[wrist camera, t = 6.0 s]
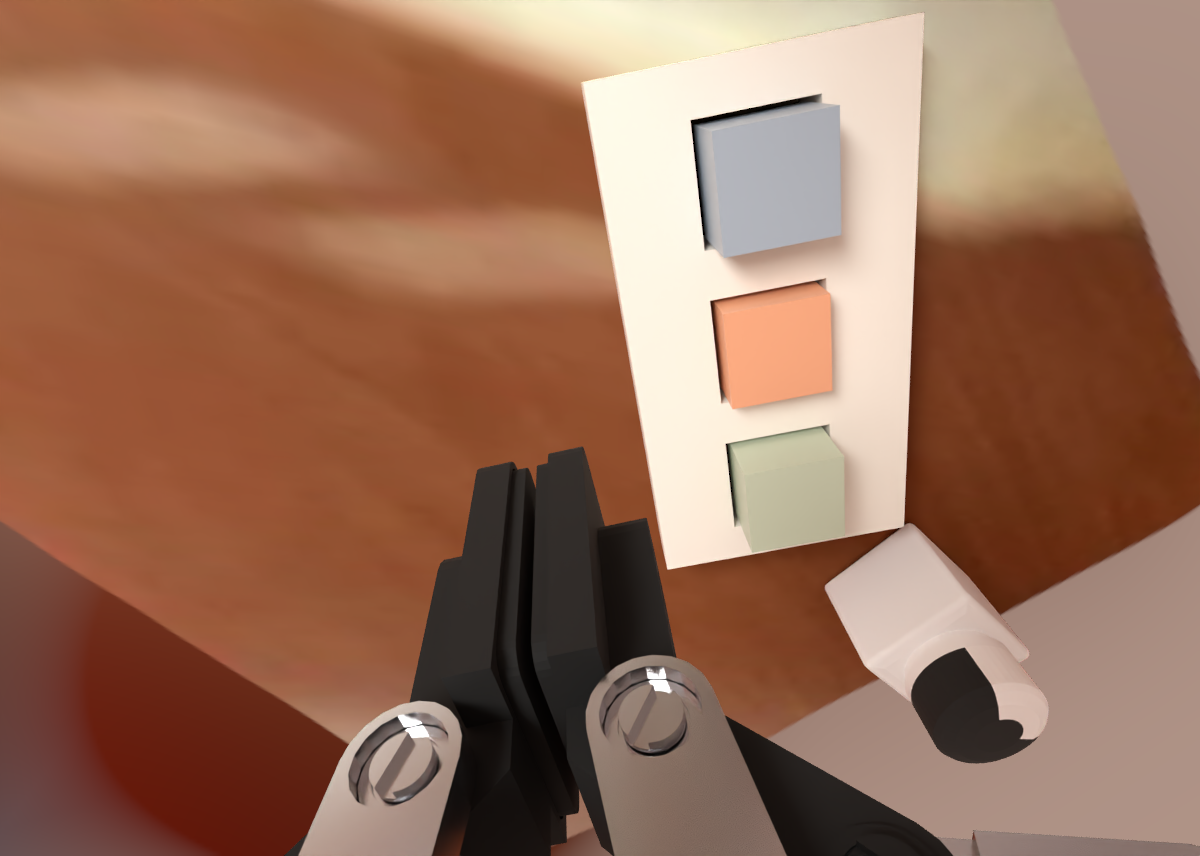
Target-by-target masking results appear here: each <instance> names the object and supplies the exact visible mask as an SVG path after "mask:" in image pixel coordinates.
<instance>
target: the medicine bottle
mask: <svg viewBox="0 0 1200 856" xmlns="http://www.w3.org/2000/svg"><path fill="white" fill-rule="evenodd" d="M825 591H826V593H827V594H828V596H829V598H830V600H831V602H832V604H833V606H834V608H835V610H836V612H837V614H838V616H839V617H840V619H841V621H842V623H843V625H844V627H845V629H846V631H847V633H848V635H849V637H850V639H851V641H852V642H853V644H854V646H855V648H856V650H857V652H858V654H859V656H860V658H861V660H862V662H863V664H864V665H865V667H866V668H867V669H869V670H870V671H871V672H872V673H874V674H875V675H876V676H878V677H879V678H880V679H881V680H883V681H884V682H885V683H886V684H888V685H889V686H891V687H892V688H893V689H894V690H895V691H897V692H898V693H899V694H900V695H902V696H903V697H904V698H906V699H907V700H908V701H909V702H911V703H912V705H913V706H914V708H915V710H916V712H917V713H918V715H919V717H920V719H921V720H922V722H923V724H924V726H925V728H926V729H927V731H928V733H929V735H930V736H931V738H932V740H933V742H934V744H935V745H936V747H937V748H938V749H939V750H940V751H941V752H942V753H943V754H945V755H947V756H949V757H951V758H953V759H955V760H958V761H961V762H966V763H987V762H993V761H997V760H1000V759H1003V758H1006V757H1009V756H1011V755H1014V754H1016V753H1018V752H1019V751H1021V750H1023V749H1024V748H1026V747H1027V746H1028V745H1030V744H1031V743H1032V742H1033V741H1035V740H1036V739H1037V737H1038V736H1039V735H1040V734H1041V733H1042V731H1043V730H1044V728H1045V726H1046V723H1047V720H1048V712H1049V705H1048V701H1047V699H1046V697H1045V696H1044V694H1043V693H1042V692H1041V691H1040V689H1039V688H1038V687H1037V685H1036V684H1035V683H1034V681H1033V680H1032V679H1031V678H1030V676H1029V675H1028V674H1027V673H1026V671H1025V670H1024V669H1023V668H1022V666H1021V665H1020V664H1019V663H1021V662H1022V661H1023V660H1025V659H1027V658H1028V657H1029V654H1030V653H1029V651H1028V649H1027V647H1026V646H1025V645H1024V644H1023V643H1022V642H1021V640H1020V639H1019V638H1018V636H1017V635H1016V634H1015V633H1014V632H1013V630H1012V629H1011V628H1010V627H1009V626H1008V624H1007V623H1006V622H1005V621H1004V619H1003V618H1002V617H1001V616H1000V615H999V613H998V612H997V611H996V610H995V608H994V607H993V606H992V605H991V604H990V602H989V601H988V600H987V599H986V597H985V596H984V595H983V594H982V593H981V591H980V590H979V589H978V588H977V587H976V585H975V584H974V583H973V582H972V580H971V579H970V578H969V577H968V576H967V575H966V574H965V573H964V572H963V571H962V570H961V569H960V568H959V567H958V566H957V565H956V564H955V563H954V562H953V561H952V560H950V559H949V558H948V557H947V556H946V555H945V554H944V553H943V552H942V551H941V550H940V549H939V548H938V547H937V546H936V545H935V544H934V543H933V542H932V541H931V540H930V539H928V538H927V537H926V536H925V535H924V534H923V533H922V532H921V531H920V530H919V529H918V528H917V527H916V526H915V525H913V524H911V523H908V524H906V525H904V527H902V528H900V529H899V530H898V531H896V532H895V533H894V534H892V535H891V536H890V537H888V538H887V539H886V540H884V541H883V542H882V543H880V544H879V545H878V546H876V547H875V548H874V549H872V550H871V551H870V552H868V553H867V554H866V555H864V556H863V557H862V558H860V559H859V560H858V561H856V562H855V563H854V564H852V565H851V566H850V567H848V568H847V569H846V570H844V571H843V572H842V573H840V574H839V575H838V576H836V577H835V578H834V579H832V580H831V581H830V582H828V583H827V584H826V585H825Z"/></svg>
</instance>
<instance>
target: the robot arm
mask: <svg viewBox="0 0 1200 856" xmlns="http://www.w3.org/2000/svg"><path fill="white" fill-rule="evenodd" d="M579 790H580V793H581V795H582V798H583V800H584V803H585V805H586V808H587V811H588V813H589V816H590V818H591V821H592V823H593V826H594V829H595V831H596V834H597V836H598V838H599V841H600V844H601V846H602V847H603V848H604V849H606V850H607V851H608V852H609V853H610V854H611V855H613V856H1200V846H1196V845H1192V844H1183V843H1167V842H1151V841H1136V840H1119V839H1103V838H1088V837H1072V836H1055V835H1041V834H1024V833H1009V832H992V831H976V830H973V837H972V840H971V839H956V838H941V837H935V836H933V835H932V834H931V833H929V832H928V831H927V830H925V829H924V828H923V827H921V826H920V825H919V824H917V823H916V822H914V821H912V820H910V819H908V818H907V817H905V816H903V815H901V814H900V813H898V812H896V811H894V810H892V809H891V808H889V807H887V806H885V805H884V804H882V803H880V802H878V801H876V800H875V799H873V798H871V797H869V796H868V795H866V794H864V793H862V792H860V791H859V790H857V789H855V788H853V787H851V786H850V785H848V784H846V783H844V782H843V781H841V780H839V779H837V778H835V777H834V776H832V775H830V774H828V773H826V772H825V771H823V770H821V769H819V768H818V767H816V766H814V765H812V764H811V763H809V762H807V761H805V760H803V759H802V758H800V757H798V756H796V755H794V754H793V753H791V752H789V751H787V750H786V749H784V748H782V747H780V746H778V745H777V744H775V743H773V742H771V741H770V740H768V739H766V738H764V737H763V736H761V735H759V734H757V733H755V732H754V731H752V730H750V729H748V728H746V727H745V726H743V725H741V724H739V723H738V722H736V721H734V720H732V719H730V718H729V717H727V716H725V715H724V713H723V711H722V709H721V706H720V704H719V702H718V700H717V697H716V695H715V693H714V691H713V688H712V687H711V685H710V684H709V682H708V681H707V679H706V678H705V676H704V675H703V673H702V672H700V671H699V670H698V669H696V668H695V667H694V666H692V665H691V664H690V663H688V662H686V661H683V660H680V659H677V658H676V653H675V648H674V643H673V638H672V633H671V629H670V624H669V619H668V614H667V609H666V604H665V599H664V595H663V590H662V585H661V580H660V576H659V571H658V566H657V562H656V557H655V553H654V548H653V544H652V539H651V535H650V530H649V526H648V522H647V518H643V519H639V520H634V521H629V522H624V523H619V524H615V525H610V526H605V525H604V521H603V518H602V514H601V510H600V506H599V503H598V499H597V495H596V491H595V488H594V484H593V480H592V476H591V472H590V469H589V465H588V461H587V457H586V454H585V451H584V448H583V447H578V448H574V449H569V450H564V451H560V452H555V453H550V454H549V455H548V463H547V464H542V465H538V466H537V478H536V488H535V485H534V482H533V479H532V476H531V473H530V471H529V469H528V468H524V469H519V470H517V467H516V466H515V464H514V463H513V462H508V463H504V464H499V465H494V466H490V467H485V468H481V469H478V471H477V474H476V479H475V485H474V491H473V497H472V502H471V508H470V514H469V520H468V525H467V531H466V537H465V543H464V549H463V554H462V556H461V557H456V558H452V559H447V560H444V561H443V562H442V563H441V564H440V566H439V569H438V573H437V577H436V582H435V587H434V591H433V596H432V601H431V605H430V610H429V615H428V619H427V624H426V629H425V633H424V638H423V643H422V647H421V652H420V657H419V661H418V666H417V671H416V675H415V680H414V685H413V689H412V694H411V699H410V703H406V704H401V705H399V706H397V707H395V708H393V709H390V710H388V711H386V712H384V713H382V714H381V715H379V716H378V717H377V718H375V719H374V720H373V721H371V722H370V723H369V724H367V725H366V726H365V727H364V728H363V729H362V730H361V731H360V732H359V733H358V735H357V736H356V737H355V738H354V739H353V740H352V741H351V742H350V744H349V746H348V748H347V749H346V751H345V753H344V755H343V756H342V758H341V760H340V761H339V764H338V766H337V768H336V771H335V773H334V775H333V777H332V780H331V782H330V785H329V787H328V789H327V791H326V793H325V796H324V798H323V800H322V803H321V805H320V807H319V810H318V812H317V814H316V817H315V819H314V821H313V823H312V826H311V828H310V830H309V833H308V834H307V835H305V836H304V837H303V838H302V839H301V840H300V841H299V842H298V843H297V844H296V845H295V846H294V847H293V848H292V849H291V850H290V851H289V852H288V853H286V854H285V855H284V856H550V855H551V845H556V844H561V843H566V842H567V832H566V815H571V814H576V813H578V811H579Z"/></svg>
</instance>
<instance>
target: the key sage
mask: <svg viewBox="0 0 1200 856" xmlns="http://www.w3.org/2000/svg"><path fill="white" fill-rule="evenodd" d="M727 445H728V454H729V464H730V473H731V482H732V492H733V501H734V510H735V512H736V515H737V517H738V520H739V522H740V525H741V527H742V530H743V532H744V535H745V537H746V539H747V542H748V544H749V547H750V549H751V552H752V553H754V552H759V551H765V550H771V549H776V548H782V547H787V546H793V545H798V544H804V543H809V542H815V541H820V540H826V539H831V538H837V537H843V536H845V491H844V456H843V454H842V453H841V452H840V450H839V449H838V448H837V446H836V445H835V444H834V442H833V441H832V440H831V438H830V437H829V436H828V434H827V433H826V432H825V431H824V429H823V428H822V427H821V426H818V427H812V428H807V429H802V430H796V431H791V432H785V433H780V434H775V435H769V436H764V437H759V438H753V439H748V440H743V441H737V442H732V443H727Z"/></svg>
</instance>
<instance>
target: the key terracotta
mask: <svg viewBox="0 0 1200 856" xmlns="http://www.w3.org/2000/svg"><path fill="white" fill-rule="evenodd" d="M710 305H711V314H712V323H713V333H714V342H715V351H716V360H717V369H718V379H719V385H720V386H721V388H722V390H723V392H724V394H725V396H726V398H727V400H728V402H729V404H730V406H731V407H732V409H737V408H743V407H748V406H753V405H758V404H764V403H769V402H774V401H780V400H785V399H790V398H796V397H801V396H806V395H811V394H817V393H822V392H827V391H832V346H831V297H830V293H829V292H828V291H826V290H825V289H824V288H823V287H821V286H820V285H819V284H818V283H816V282H815V281H809V282H804V283H799V284H794V285H789V286H784V287H779V288H773V289H768V290H763V291H758V292H753V293H748V294H743V295H737V296H732V297H727V298H722V299H717V300H712V301H710Z"/></svg>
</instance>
